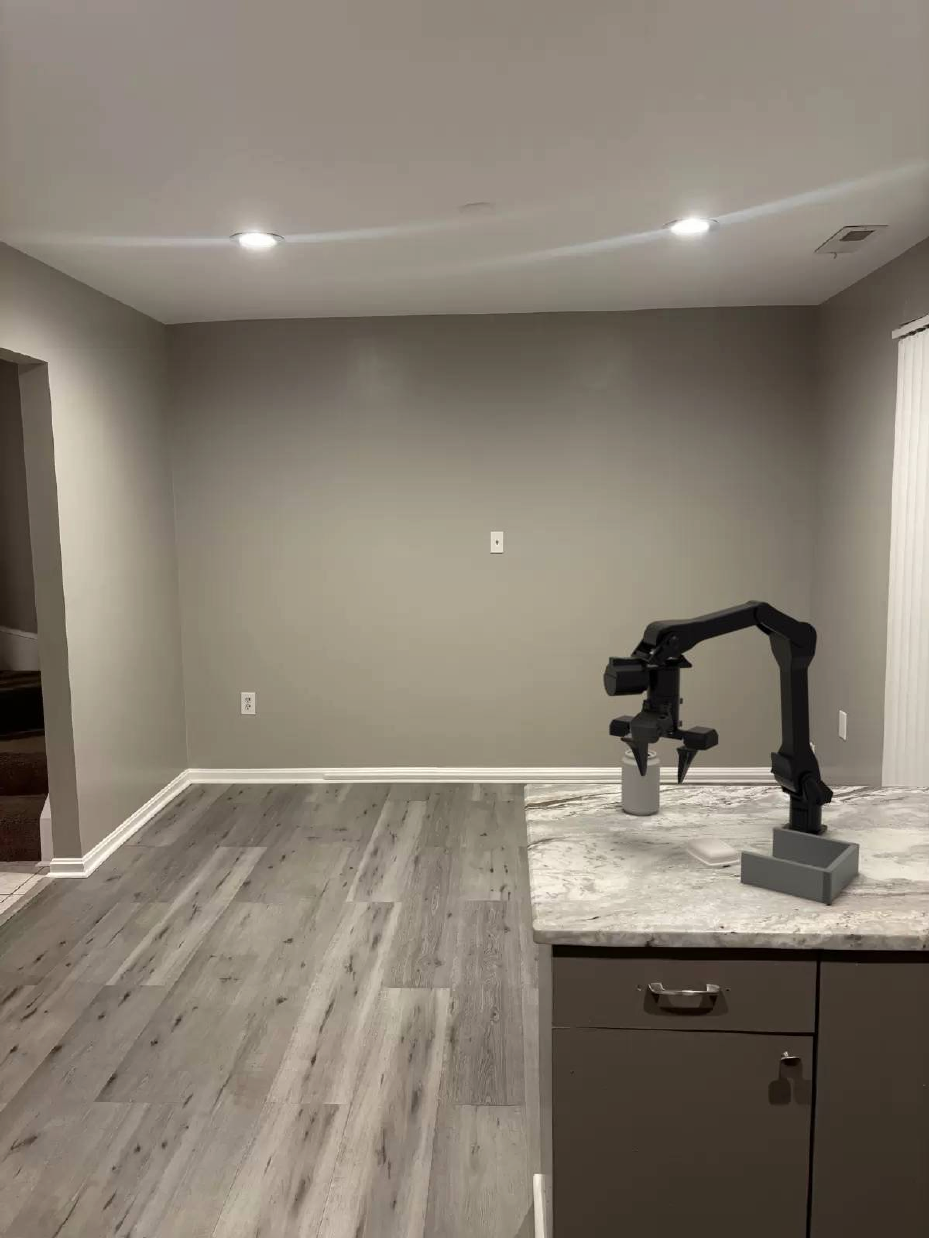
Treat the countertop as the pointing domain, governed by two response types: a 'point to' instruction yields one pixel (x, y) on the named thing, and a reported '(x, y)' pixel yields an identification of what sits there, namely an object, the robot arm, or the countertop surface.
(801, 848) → the box
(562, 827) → the countertop surface
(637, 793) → the can
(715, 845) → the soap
